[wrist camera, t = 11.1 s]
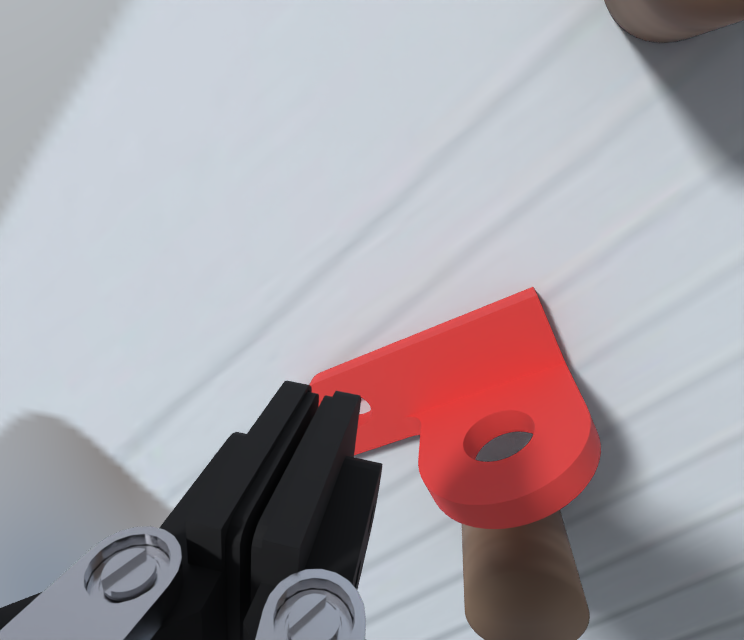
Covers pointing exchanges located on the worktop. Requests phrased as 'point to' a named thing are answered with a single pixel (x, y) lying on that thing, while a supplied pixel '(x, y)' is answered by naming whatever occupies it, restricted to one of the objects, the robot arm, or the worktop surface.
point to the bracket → (479, 412)
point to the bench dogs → (548, 535)
